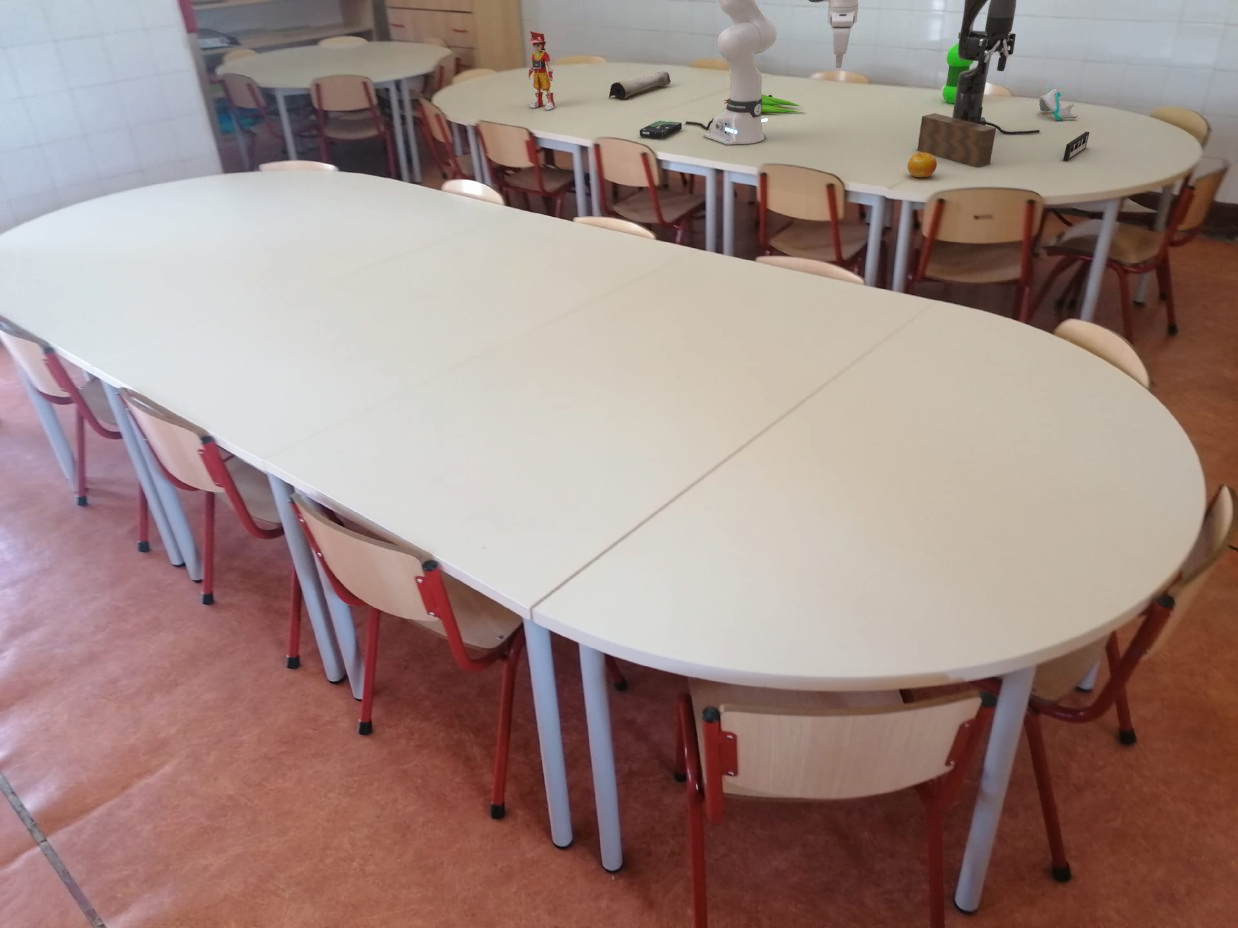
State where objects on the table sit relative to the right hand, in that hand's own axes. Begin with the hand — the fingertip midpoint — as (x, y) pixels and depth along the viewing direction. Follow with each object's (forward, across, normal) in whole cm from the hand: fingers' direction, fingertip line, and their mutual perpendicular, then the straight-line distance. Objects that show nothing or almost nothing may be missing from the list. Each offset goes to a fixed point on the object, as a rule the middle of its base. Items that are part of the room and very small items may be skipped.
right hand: (990, 73), depth 275 cm
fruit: (+27, -23, +1) cm, 36 cm away
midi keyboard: (+27, +31, -14) cm, 43 cm away
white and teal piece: (+27, +64, +20) cm, 73 cm away
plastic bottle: (+27, +55, +59) cm, 85 cm away
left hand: (-3, -34, +31) cm, 46 cm away
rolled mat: (+27, -27, +162) cm, 167 cm away
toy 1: (+27, -73, +168) cm, 185 cm away
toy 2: (+27, -6, +99) cm, 103 cm away
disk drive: (+27, -58, +99) cm, 118 cm away
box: (+27, 0, +9) cm, 29 cm away
